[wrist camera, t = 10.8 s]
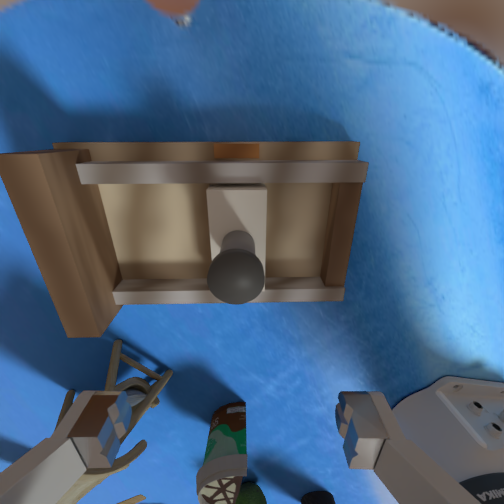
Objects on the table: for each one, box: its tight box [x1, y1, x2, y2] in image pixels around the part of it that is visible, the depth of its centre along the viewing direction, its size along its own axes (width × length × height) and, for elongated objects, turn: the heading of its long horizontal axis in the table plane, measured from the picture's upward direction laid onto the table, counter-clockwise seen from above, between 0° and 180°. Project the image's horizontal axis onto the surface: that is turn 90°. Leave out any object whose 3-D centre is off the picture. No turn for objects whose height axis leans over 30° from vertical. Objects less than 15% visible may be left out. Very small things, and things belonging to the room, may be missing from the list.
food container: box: [196, 402, 247, 504], centre depth 38 cm, size 12×6×10 cm, turn 171°
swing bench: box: [55, 340, 173, 504], centre depth 31 cm, size 15×10×15 cm, turn 135°
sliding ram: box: [206, 183, 267, 304], centre depth 21 cm, size 5×10×9 cm, turn 0°
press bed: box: [0, 141, 369, 338], centre depth 24 cm, size 27×17×8 cm, turn 90°
